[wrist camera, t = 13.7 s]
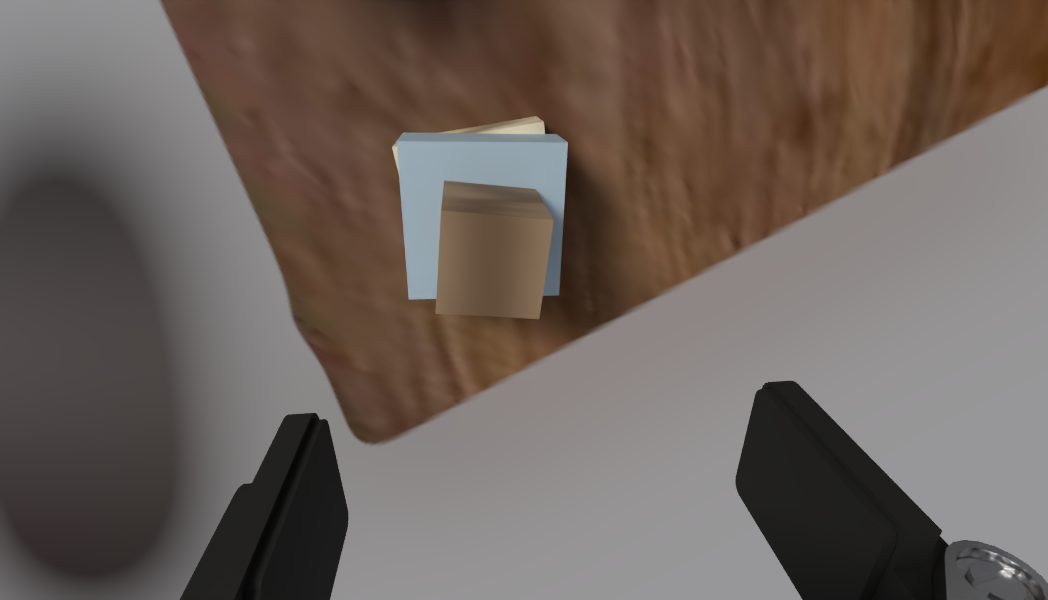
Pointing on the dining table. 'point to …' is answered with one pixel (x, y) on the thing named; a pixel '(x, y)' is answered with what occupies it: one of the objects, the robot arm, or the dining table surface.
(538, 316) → the walnut block
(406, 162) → the tower top block
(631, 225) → the dining table surface
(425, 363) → the dining table surface
